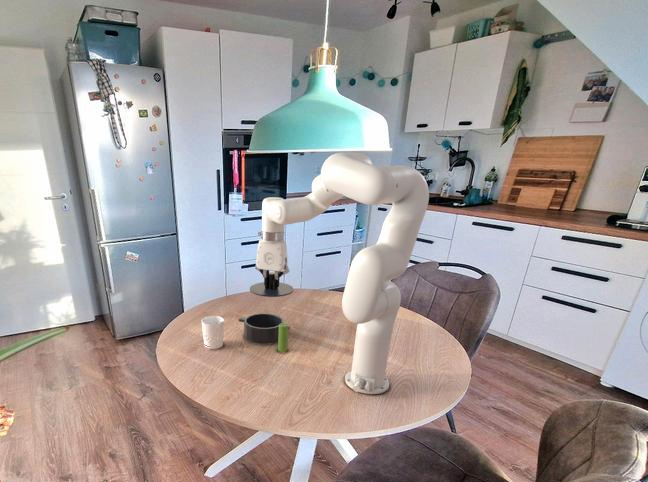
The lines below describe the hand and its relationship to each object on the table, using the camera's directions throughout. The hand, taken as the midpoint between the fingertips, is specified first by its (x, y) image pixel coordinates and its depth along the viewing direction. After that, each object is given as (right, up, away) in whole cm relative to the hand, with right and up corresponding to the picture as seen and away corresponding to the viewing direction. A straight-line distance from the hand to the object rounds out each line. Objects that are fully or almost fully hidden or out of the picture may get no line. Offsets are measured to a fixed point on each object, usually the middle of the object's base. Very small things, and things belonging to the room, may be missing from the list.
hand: (271, 287), depth 138 cm
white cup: (-21, -21, +2) cm, 29 cm away
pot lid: (0, -1, 0) cm, 1 cm away
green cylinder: (+4, -22, -3) cm, 23 cm away
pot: (-2, -18, +8) cm, 20 cm away
